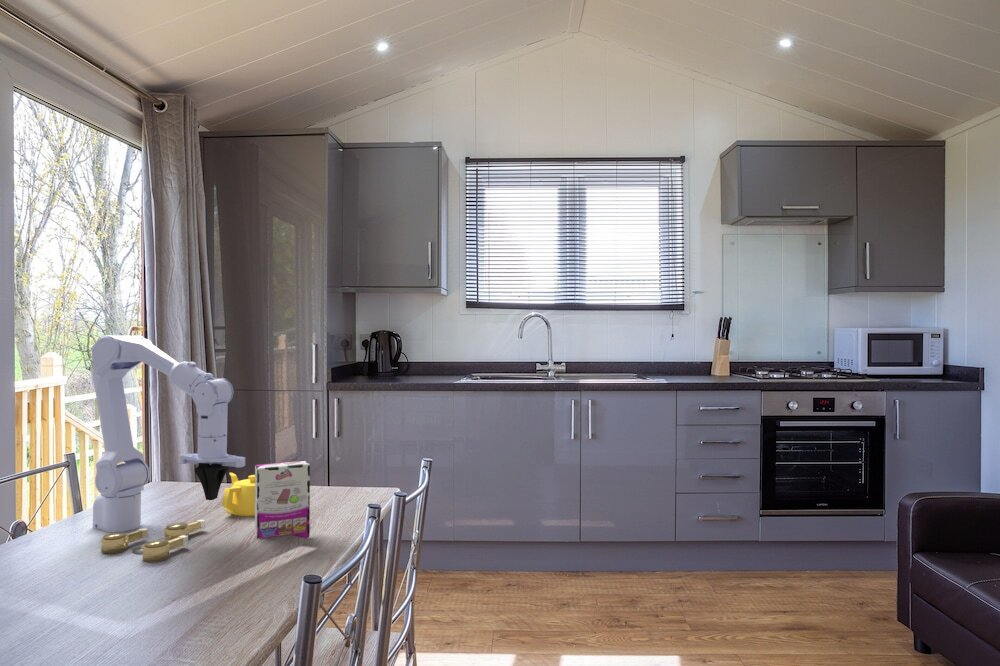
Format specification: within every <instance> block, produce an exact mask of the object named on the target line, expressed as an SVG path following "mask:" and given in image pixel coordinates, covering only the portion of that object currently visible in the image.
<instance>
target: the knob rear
mask: <svg viewBox="0 0 1000 666" xmlns="http://www.w3.org/2000/svg"><path fill="white" fill-rule="evenodd" d="M163 529H164V530H163V531H164V535H163V537H164V538H163V539H165V540H168V541H169V540H172V539H175V538H178V537H179V536H182V535H184V536H188V540H189V537H190V533H194V532H197V531H199V530H203V529H206V519H197V520H196V521H193V522H191V523H188V522H173V523H169V524H167V525H166V526H165V527H164V528H163Z"/></svg>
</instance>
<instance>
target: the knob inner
mask: <svg viewBox="0 0 1000 666" xmlns="http://www.w3.org/2000/svg"><path fill="white" fill-rule="evenodd" d="M148 534H149V529H148V528H143V527H142V528H140V529H137V530H135V531H132V532H127V531H122V532H109V533H108V532H107V533H106V534H104V535H103V536H102V537H101V539H100V553H101V554H104V555H112V554H118V553H122V552H125V551H127V550H128V549H129V543H132V542H136V541H139V540H142V539H147V538H148V536H149V535H148Z"/></svg>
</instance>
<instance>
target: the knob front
mask: <svg viewBox="0 0 1000 666" xmlns="http://www.w3.org/2000/svg"><path fill="white" fill-rule="evenodd" d="M143 544H144V545H143V549H142V554H141V555H142V556H141V557H142V562H144V563H157V562H158V563H159V562H163V561H166V560H168V559H169V558H170V551H172V550H175V549H178V548H182V547H185V546H188V545H189V539H188V536H184V535H182V536H179V537H178V538H175V539H172V540H169V541H168V540H165V539H164V538H161V539H160V538H157V539H151V540H148V541H146V542H144V543H143Z"/></svg>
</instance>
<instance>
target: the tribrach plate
mask: <svg viewBox="0 0 1000 666" xmlns="http://www.w3.org/2000/svg"><path fill="white" fill-rule="evenodd" d="M143 545H144V543H142V544H139V545H136V546H134V547H133V548H132V550H131V551H132V553H133V554H135V555H142V549H143Z"/></svg>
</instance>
